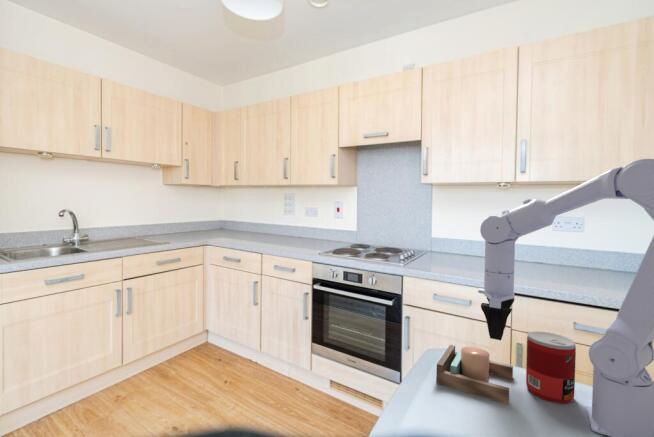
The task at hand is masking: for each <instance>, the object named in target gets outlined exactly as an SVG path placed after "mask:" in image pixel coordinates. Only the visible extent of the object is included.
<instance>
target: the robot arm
mask: <svg viewBox="0 0 654 437" xmlns="http://www.w3.org/2000/svg"><path fill="white" fill-rule="evenodd" d="M604 199H605V200H606V199H607V200H608V199H609V200H610V199H611V200H612V199H613V200H617V199H619V200H620V199H621V200H630V201H631V202H634V203H635V204H637V205H639V206H640V207H641V208H643V209H644V211H645V212H646V213H647V214H648V215H649V216H650V218H651V219H652V220H653V221H654V158H642V159H641V158H640V159H637V160H635V161H632V162H629V163H628V164H627V165H625V166H624V167H623V166H619V167H615V168H612V169H609V170H608V171H606V172H603V173H601V174H600V175H598V176H596V177H594V178H592V179H589V180H588V181H585V182H583V183H581V184H580V185H578V186H575V187H573V188H572V189H569V190H567V191H565V192H562V193H561V194H559V195H557V196H554V197H553V198H550V199H548V200H547V201H545V200H542V199H540V198H539V199H538V198H536V199H532V198H531V199H529V198H528V199H526V200H525V199H524V201H522V203H523V204H521V205H520V206H518V207H516V208H513V209H511V210H504V211H501V216H498V215H489V216H488V217H487V218H486V219H484V220H483V221H482V223H481V225H480V227H479V228H480V231H479V232H480V235H481V237H482V239H484V241H485V242H484V243H485V244H484V247H485V248H484V283H483V284H484V285H483V287H484V288H478V290H477V291H478V294H483V295H484V296H485V297H486V299H487V300H486V301H488V303H487V302H481V303H480V309H481V310H482V312H483V315H484V318H485V321H486V324H487V329H488V330H487V331H488V335H489V338H490V339H491V340H496V341H502V339H503V335H504V332H505V328H506V326H507V322H508V317H509V316H510V314H511V313H512V310H513V308H511V307H512V305H513V303H514V302H515V297H516V296H515V294H516V293H515V290H514V289H515V255H516V254H515V250H516V249H515V248H516V247H515V244H516V243H517V242H516V241H517V240H518V239H519V238H521V237H523V236H526V235H528V234H532V233H534V232H536V231H540V230H542V229H545V228H547V227H550V226H551V225H553V223H554V221H555V219H556V217H557V216H559V215H562V214H565V213H568V212H571V211H573V210H576V209H579V208H582V207H585V206H588V205H591V204H593V203H596V202H598V201H601V200H604ZM588 358H589V360H590V363H591V364H592V396H591V398H592V399H591V400H592V401H591V406H590V405H587V406H585V407H586V408H585V409H586V412H587V416H588V420H589V424H590V427H591V431H593V432H595V433H597V434H602V435H604V436H608V437H654V380H653V379H652V377H651V375H650V373H649V372H648V370H647V369H646V367H648V366H649V365H651V364H652V363H653V362H654V235H653V236H652V238H651V241H650V242H649V244H648V247H647V249H646V251H645V253H644V255H643V257H642V260H641V262H640V265H639V267H638V269H637V271H636V273H635V276H634V277H633V280H632V282H631V284H630V286H629V288H628V291H627V293H626V295H625V296H624V299H623V302H622V304H621V305H620V307H619V310H618V312H617V314H616V316H615V318H614V319H613V320H612V321H611V323H610V324H609V326H608V327H607V328H606V330H605V333H604V334H603V336H602V337H601V338H599V339H597V340H595V341H594V342H592V343H591V345H590V346H589V349H588Z"/></svg>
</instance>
